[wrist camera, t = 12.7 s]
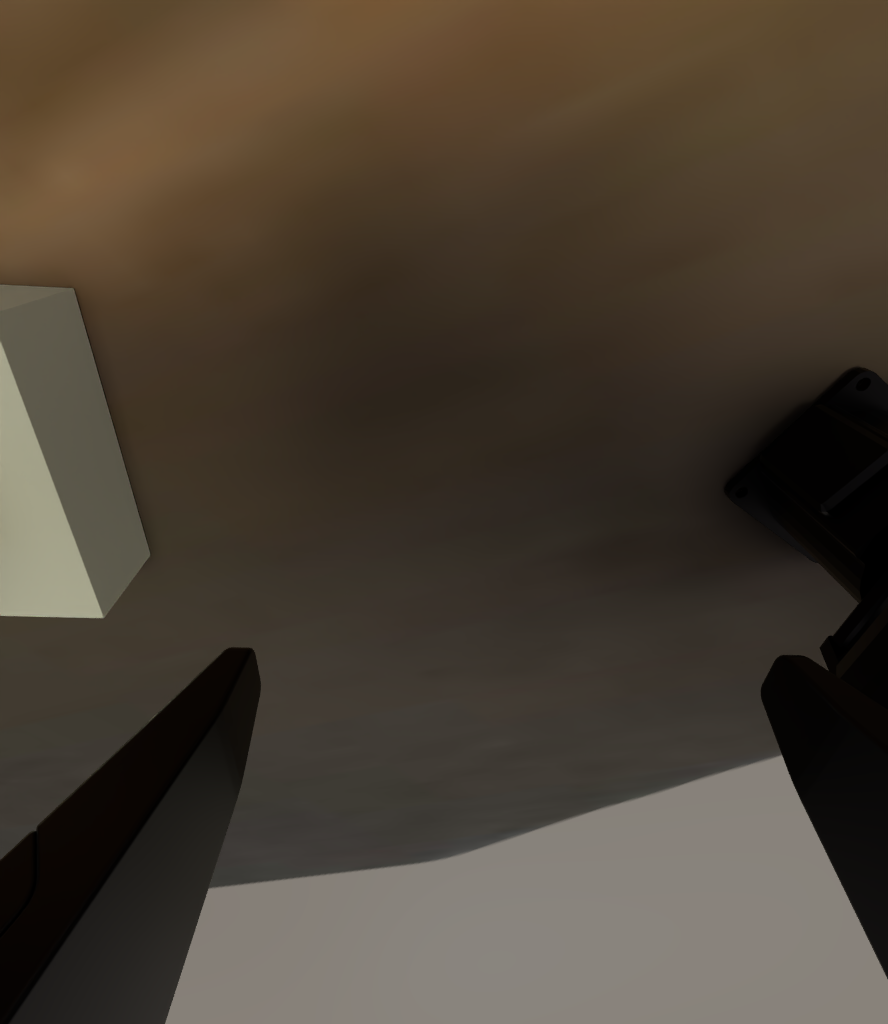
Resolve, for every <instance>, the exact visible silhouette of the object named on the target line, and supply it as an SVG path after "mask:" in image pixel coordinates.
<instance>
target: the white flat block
mask: <svg viewBox="0 0 888 1024" xmlns="http://www.w3.org/2000/svg"><path fill="white" fill-rule="evenodd" d="M149 557H150V551H149V548H148V544H147V541H146V537H145V534H144V530H143V527H142V523H141V520H140V516H139V513H138V510H137V506H136V503H135V499H134V496H133V492H132V489H131V485H130V482H129V478H128V475H127V471H126V468H125V464H124V461H123V458H122V454H121V451H120V447H119V444H118V440H117V437H116V433H115V430H114V426H113V423H112V419H111V416H110V413H109V409H108V406H107V402H106V399H105V395H104V392H103V388H102V385H101V381H100V378H99V374H98V371H97V367H96V364H95V361H94V357H93V354H92V350H91V347H90V343H89V340H88V336H87V333H86V329H85V326H84V322H83V319H82V316H81V312H80V309H79V305H78V302H77V298H76V295H75V291H74V288H58V287H39V286H19V285H0V616H34V617H76V618H104V617H105V616H106V615H107V613H108V612H109V611H110V609H111V608H112V607H113V605H114V604H115V603H116V601H117V600H118V598H119V597H120V596H121V594H122V593H123V592H124V590H125V589H126V588H127V586H128V585H129V584H130V582H131V581H132V580H133V578H134V577H135V575H136V574H137V573H138V571H139V570H140V569H141V567H142V566H143V565H144V563H145V562H146V561H147V559H148V558H149Z"/></svg>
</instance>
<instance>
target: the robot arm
mask: <svg viewBox="0 0 888 1024" xmlns="http://www.w3.org/2000/svg"><path fill="white" fill-rule="evenodd" d="M861 379H863V382H862V383H861V384H860V385H859V386H857V387H856V385H857V383H858V382H859V380H861ZM741 487H743V489H742V490H741V491H740V492H738V493H736V491H737V490H738V489H739V488H741ZM725 494H726V495H727V496H728V497H729V499H730V500H731V501H732V502H734V503H735V504H736V505H738V506H739V507H740V508H742V509H743V510H744V511H746V512H747V513H748V514H750V515H751V516H752V517H754V518H755V519H756V520H758V521H759V522H760V523H762V524H763V525H764V526H766V527H767V528H768V529H770V530H771V531H773V532H774V533H775V534H777V535H778V536H779V537H781V538H782V539H783V540H785V541H786V542H787V543H789V544H790V545H791V546H793V547H794V548H795V549H797V550H798V551H799V552H801V553H802V554H803V555H805V556H806V557H807V558H809V559H810V560H811V561H813V562H815V563H819V564H820V565H821V566H822V567H823V568H824V569H825V570H826V571H827V572H828V573H829V574H830V575H831V576H832V577H833V578H834V579H835V580H836V581H837V582H838V583H839V584H840V585H841V586H842V587H843V588H844V589H845V590H846V591H847V592H848V593H849V594H850V595H851V596H852V597H853V598H854V599H855V600H856V601H857V602H858V603H859V604H858V605H857V606H856V608H855V609H854V610H853V611H852V613H851V614H850V615H849V616H848V618H847V619H846V620H845V621H844V623H843V624H842V625H841V626H840V628H839V629H838V630H837V631H836V633H835V634H834V635H833V636H828V638H827V639H826V640H825V641H824V643H823V644H822V645H821V646H820V650H821V652H822V655H823V657H824V660H825V662H826V665H827V667H828V670H829V671H828V670H826V669H825V668H823V667H822V666H820V665H819V664H817V663H816V662H814V661H813V660H811V659H809V658H808V657H805V656H801V655H782V656H779V657H778V658H776V660H775V661H774V663H773V665H772V667H771V669H770V671H769V673H768V675H767V676H766V678H765V680H764V682H763V684H762V687H761V699H762V702H763V705H764V708H765V710H766V713H767V716H768V718H769V721H770V724H771V726H772V729H773V732H774V734H775V737H776V740H777V742H778V745H779V748H780V750H781V753H782V756H783V758H784V761H785V764H786V766H787V769H788V772H789V774H790V776H791V779H792V781H793V784H794V786H795V789H796V791H797V793H798V795H799V797H800V800H801V802H802V804H803V806H804V808H805V810H806V812H807V814H808V816H809V818H810V820H811V822H812V824H813V826H814V828H815V831H816V832H817V835H818V837H819V839H820V841H821V843H822V845H823V847H824V849H825V851H826V853H827V855H828V857H829V859H830V861H831V863H832V866H833V868H834V870H835V872H836V874H837V876H838V878H839V880H840V882H841V884H842V886H843V888H844V890H845V892H846V894H847V896H848V898H849V900H850V903H851V905H852V907H853V909H854V910H855V913H856V915H857V917H858V919H859V921H860V923H861V925H862V927H863V929H864V931H865V933H866V935H867V938H868V940H869V942H870V944H871V945H872V948H873V950H874V952H875V954H876V956H877V958H878V960H879V962H880V964H881V966H882V968H883V970H884V972H885V975H886V976H887V979H888V385H887V384H886V383H885V382H884V381H883V380H882V379H881V378H880V377H879V376H878V375H877V374H876V373H874V372H872V371H870V370H868V369H866V368H857V369H854V370H852V371H851V372H850V373H848V374H847V375H846V376H845V377H844V378H843V379H842V380H840V381H839V382H838V383H837V384H836V385H835V386H834V387H833V388H832V389H831V390H829V391H828V392H827V393H826V394H825V395H824V396H823V397H822V398H821V399H820V400H819V401H817V402H816V403H815V404H814V405H813V406H812V407H811V408H810V409H809V410H808V411H806V412H805V413H804V414H803V415H802V416H801V417H800V418H799V419H798V420H797V421H795V422H794V423H793V424H792V425H791V426H790V427H789V428H788V429H787V430H786V431H784V432H783V433H782V434H781V435H780V436H779V437H778V438H777V439H776V440H775V441H773V442H772V443H771V444H770V445H769V446H768V447H767V448H766V449H765V450H764V451H762V452H761V453H760V454H759V455H758V456H757V457H756V458H755V459H754V460H753V461H752V462H750V463H749V464H748V465H747V466H746V467H745V468H744V469H743V470H742V471H741V472H739V473H738V474H737V475H736V476H735V477H734V478H733V479H732V480H731V481H730V482H729V483H728V484H727V485H726V487H725ZM260 690H261V681H260V676H259V670H258V665H257V660H256V655H255V652H254V650H253V649H252V648H238V647H231V648H228V649H226V650H224V651H223V652H222V653H221V654H220V655H219V656H218V657H217V658H216V659H215V660H214V661H213V662H212V663H210V664H209V665H208V666H207V667H206V668H205V669H204V670H203V671H202V672H201V673H200V674H199V675H198V676H197V677H196V678H194V679H193V680H192V681H191V682H190V683H189V684H188V685H187V686H186V687H185V688H184V689H183V690H182V691H181V692H180V693H178V694H177V695H176V696H175V697H174V698H173V699H172V700H171V701H170V702H169V703H168V704H167V705H166V706H165V707H164V708H162V709H161V710H160V711H159V712H158V713H157V714H156V715H155V716H154V717H153V718H152V719H151V720H150V721H149V722H148V723H146V724H145V725H144V726H143V727H142V728H141V729H140V730H139V731H138V732H137V733H136V734H135V735H134V736H133V737H131V738H130V739H129V740H128V741H127V742H126V743H125V744H124V745H123V746H122V747H121V748H120V749H119V750H118V751H117V752H115V753H114V754H113V755H112V756H111V757H110V758H109V759H108V760H107V761H106V762H105V763H104V764H103V765H102V766H101V767H99V768H98V769H97V770H96V771H95V772H94V773H93V774H92V775H91V776H90V777H89V778H88V779H87V780H86V781H85V782H83V783H82V784H81V785H80V786H79V787H78V788H77V789H76V790H75V791H74V792H73V793H72V794H71V795H70V796H69V797H67V798H66V799H65V800H64V801H63V802H62V803H61V804H60V805H59V806H58V807H57V808H56V809H55V810H54V811H53V812H51V813H50V814H49V815H48V816H47V817H46V818H45V819H44V820H43V821H42V822H41V823H40V824H39V825H38V826H37V828H36V831H31V832H30V833H29V834H28V835H27V836H26V837H24V838H23V839H22V840H21V841H20V842H19V843H18V844H17V845H16V846H15V847H14V848H13V849H12V850H11V851H10V852H8V853H7V854H6V855H5V856H4V857H3V858H2V859H1V860H0V1024H165V1022H166V1018H167V1016H168V1012H169V1009H170V1006H171V1003H172V1000H173V997H174V994H175V990H176V988H177V984H178V981H179V978H180V975H181V972H182V969H183V966H184V963H185V960H186V956H187V953H188V950H189V947H190V944H191V941H192V938H193V935H194V932H195V928H196V926H197V922H198V919H199V916H200V913H201V910H202V907H203V903H204V900H205V898H206V894H207V891H208V888H209V885H210V882H211V879H212V876H213V873H214V870H215V866H216V863H217V860H218V857H219V854H220V851H221V848H222V845H223V842H224V838H225V835H226V832H227V829H228V826H229V823H230V820H231V817H232V814H233V811H234V807H235V804H236V801H237V798H238V794H239V791H240V788H241V784H242V780H243V775H244V771H245V766H246V761H247V756H248V751H249V746H250V741H251V736H252V732H253V727H254V722H255V717H256V712H257V707H258V702H259V697H260Z"/></svg>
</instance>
